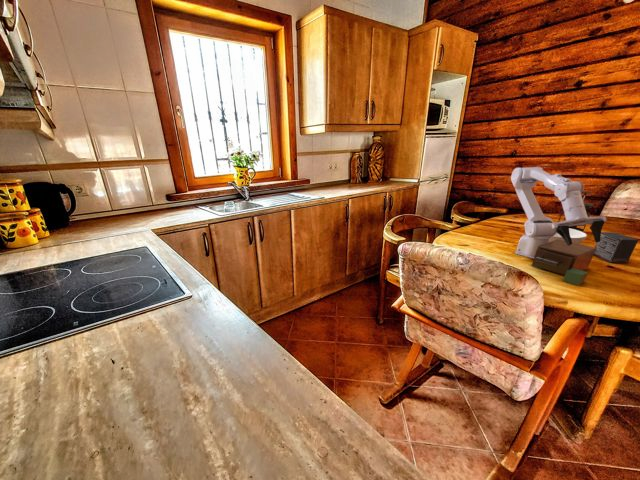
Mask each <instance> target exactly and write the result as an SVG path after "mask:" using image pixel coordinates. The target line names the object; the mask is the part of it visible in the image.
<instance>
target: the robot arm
mask: <svg viewBox="0 0 640 480" xmlns="http://www.w3.org/2000/svg"><path fill="white" fill-rule="evenodd" d="M510 181H511V183H512V185H513V188H514V189H515V193H516V195H517V198H518V200H519V202H520V204H521V207H522V209H523V211H524V214H525V215H526V218H527V220H526V221H525V222H524V224H523V226H524V233H525V234H523V235H522V236H521V237H520V238H519V240H518V244H517V247H516V250H515V252H514V254H515V255H519V256H523V257H526V258H530V259H532V260H534V257H535V254H536V251H537V248H538V246H539V245H542V244H545V243H548V241H549V239H551V237H552V236H554V235H555V234H556V233H558V234H559V235H560V236H561V237H562V238H563V239H564V240H565V242H566V243H567V245H571V244H572V240H571V237H570V233H569V227H570V226H577V227H579V226H578V225H585V224H586V225H590V226H589V230H590V232H591V233H592V236H593V240H594V242H595V243H597V242H599V241H601V232H602V231H603V227H604V225H605V223H606V222H607V217H606V215H601V216H589V217H588V216H587V213H588V212H587V209H585V206H584V203H583V202H584V200H583V196H582V194H583V193H582V191H584V183H583V182H582V181H580V180H574V181H573V180H571V178H568V177H564V176H563V175H562V173H555V174H551V173H548V172H547V171H545V170H544V168H543V167H540V166H529V167H528V166H527V167H515V168H514V169H513V170H512V171H511V176H510ZM538 182H541V183H543V186H544V187H545V188H546V189H548V190H550V191H553V194H554V196H555V197H557V198H558V201H560V202H561V206H562V210H563V212H564V213H563V214H564V218H565V217H566V218H565V220H563V221H559V222H558V221H557V222H554V220H553V219H552V218H551V217H550V216H549V217H548V216H546V215H545V214H544V212H543V210H542V208H541V207H540V204H539V202H538V200H537V198H536V196H535V194H534V192H533V188H535V187H536V185H537V184H538ZM586 212H587V213H586Z"/></svg>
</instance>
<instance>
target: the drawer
mask: <svg viewBox="0 0 640 480" xmlns="http://www.w3.org/2000/svg"><path fill="white" fill-rule="evenodd" d="M573 259H574V256H570V255H566V254H562V253H558V252H554V251H550V250H546V249H537V251H536V254H535V257H534V259H532V263H531V266H532V265H533V266H532V267H534V266H536V267H535V268H538V267H540V268H539V269H541V268H543V269H542V270H544V269H547V270H546V271H548V270H550V271H549V272H551V271H553V272H552V273H554V272H557V273H556V274H558V273H560V274H559V275H561V274H563V275H562V276H565V274H566V272H567V270H569V269H570V266H571V264H572V261H573Z"/></svg>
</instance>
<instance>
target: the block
mask: <svg viewBox="0 0 640 480" xmlns="http://www.w3.org/2000/svg"><path fill="white" fill-rule="evenodd" d="M588 274H589V272H588V271H585V270H583V271H582V270H578V269H574V268H572V269H570V270H567V272H566V274H565V275H564V276H563V280H562V282H565V283H569V284H571V285H574V286H580V285H582V284H584V283H585V281H586V278H587V276H588Z"/></svg>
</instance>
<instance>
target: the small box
mask: <svg viewBox="0 0 640 480" xmlns="http://www.w3.org/2000/svg"><path fill="white" fill-rule="evenodd" d="M638 242H639V239H637V238H634V237H631V236H628V235H626V234H622V233H619V232H611V231H609V232H608V231H601V241H599V242H595V245H594V246H593V247H594V248H596V250H595V252H594V255H593V256H595V257H597V258H600V259H602V260H604V261H606V262H608V263H614V264H615V263H617V264H619V263H620V264H628V262H629V261H630V258H631V256H632V254H633V252H634V250H635V249H636V246H637V244H638Z"/></svg>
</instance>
